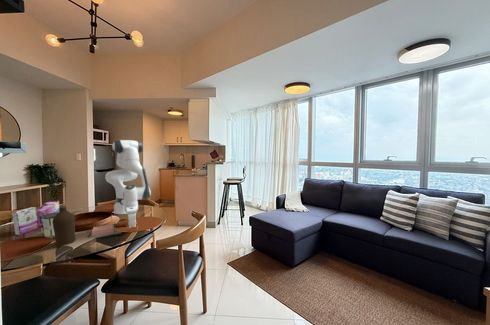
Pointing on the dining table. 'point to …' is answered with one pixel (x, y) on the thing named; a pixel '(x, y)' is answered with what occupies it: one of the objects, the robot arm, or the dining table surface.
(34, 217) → the candy bar box
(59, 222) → the olive oil
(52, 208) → the gum box
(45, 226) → the tissue box
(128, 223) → the stub
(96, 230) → the pink block
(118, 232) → the mat
